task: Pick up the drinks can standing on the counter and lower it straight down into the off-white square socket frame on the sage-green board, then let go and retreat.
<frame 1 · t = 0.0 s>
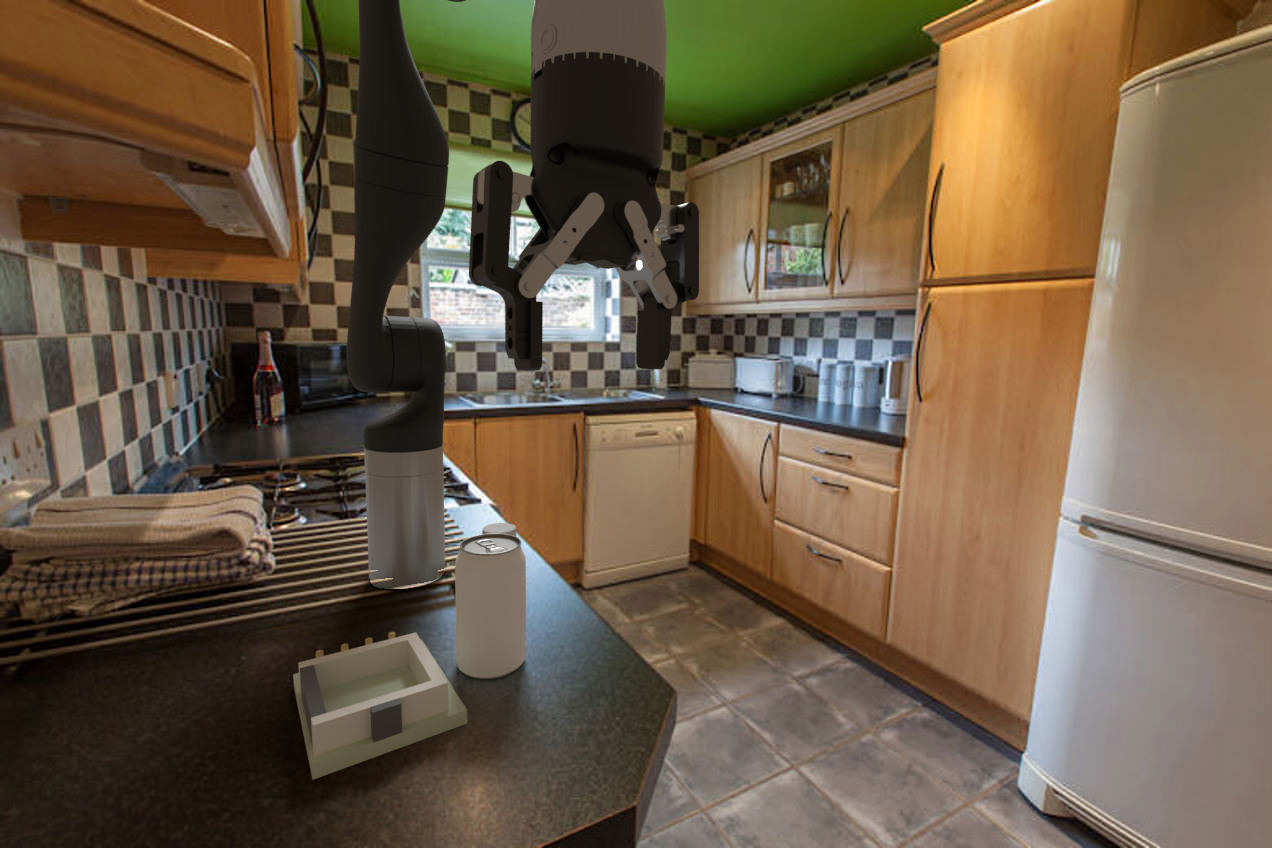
hand: (592, 369, 34), 29 cm above the worktop, tool pointing down, fingers open, 8 cm apart
can: (491, 664, 55), on the worktop
socket board: (376, 704, 48), on the worktop
supplement bottle: (499, 595, 70), on the worktop
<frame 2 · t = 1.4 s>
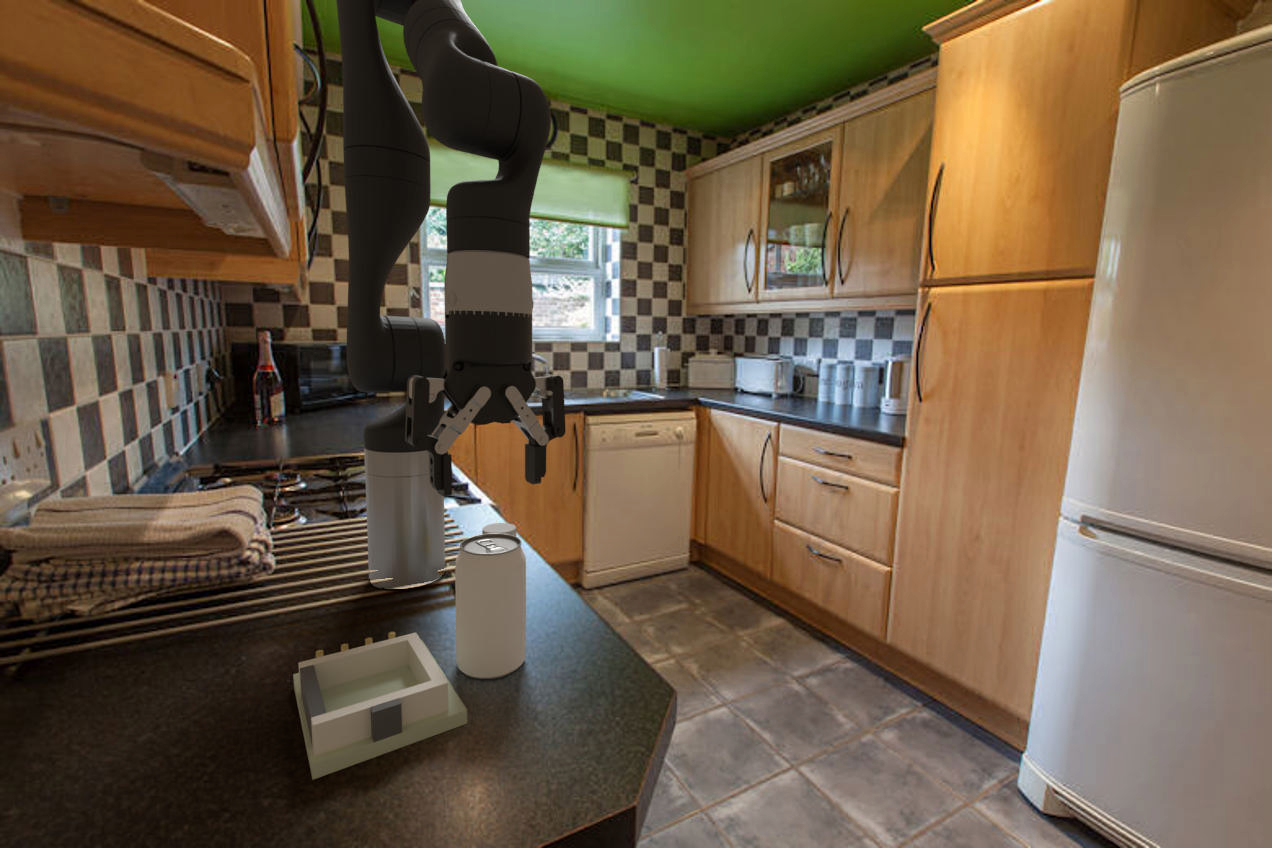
hand: (490, 488, 53), 17 cm above the worktop, tool pointing down, fingers open, 8 cm apart
nothing on the worktop moved.
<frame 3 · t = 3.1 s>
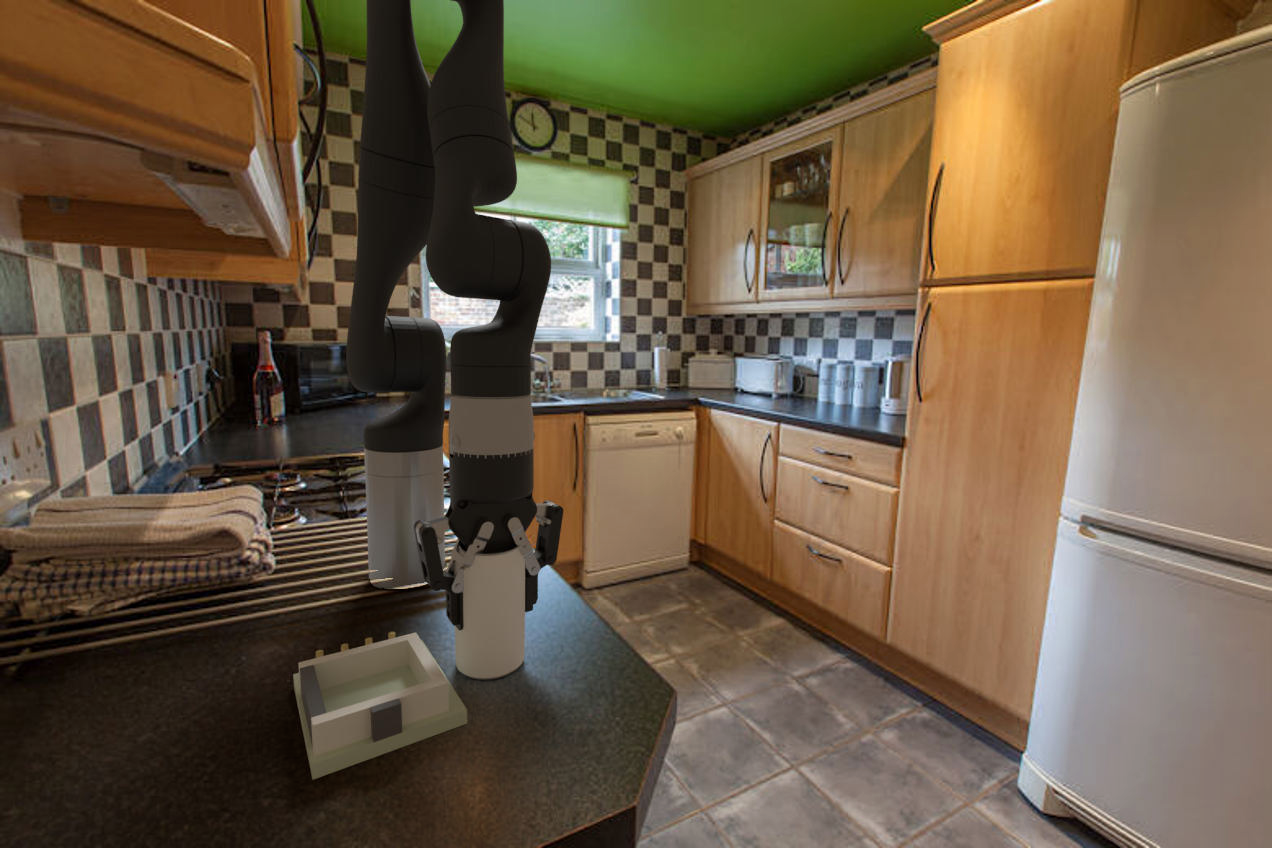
hand: (493, 616, 55), 5 cm above the worktop, tool pointing down, fingers closed on can, 6 cm apart
can: (490, 664, 55), on the worktop, touching gripper
everything else where it was.
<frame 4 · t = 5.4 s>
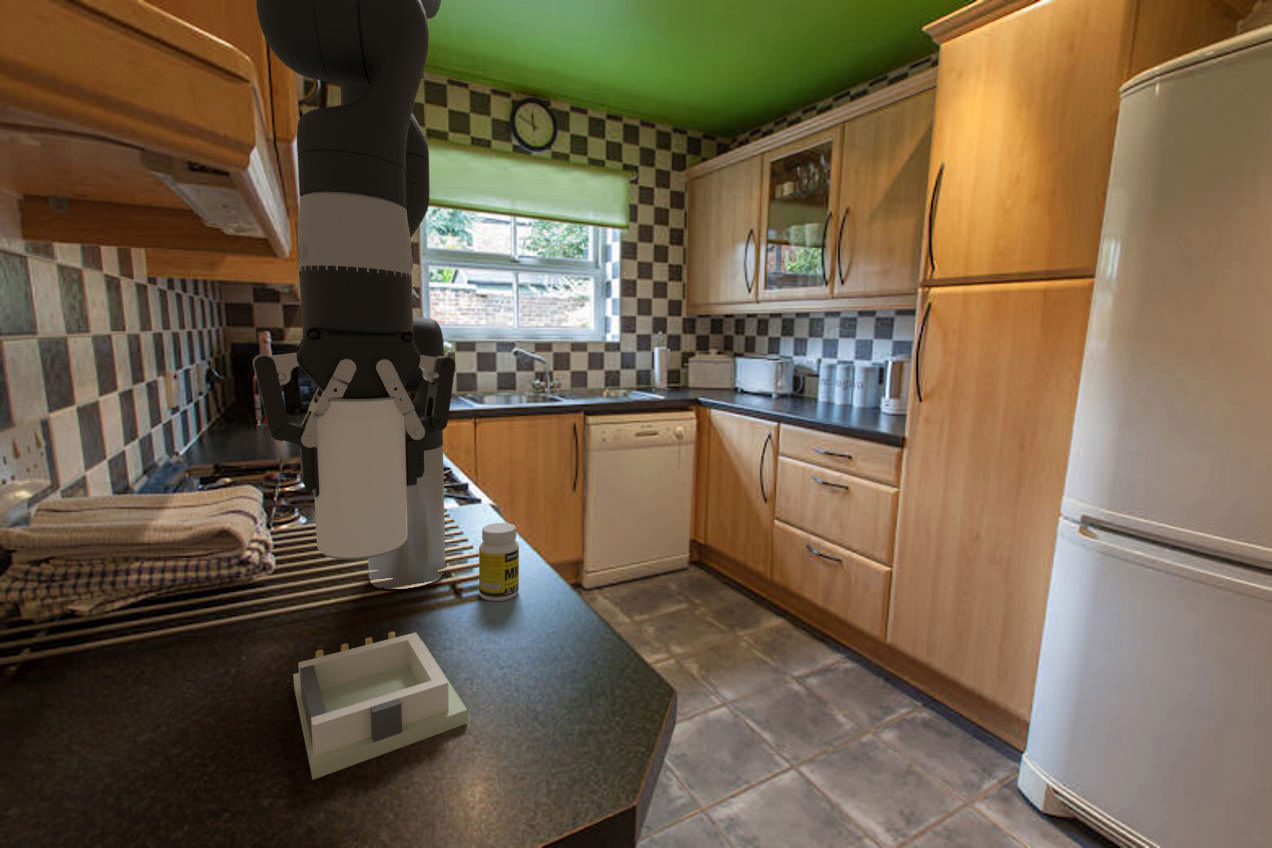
hand: (365, 488, 45), 19 cm above the worktop, tool pointing down, fingers closed on can, 6 cm apart
can: (363, 548, 45), point 14 cm above the worktop, touching gripper
everything else where it was.
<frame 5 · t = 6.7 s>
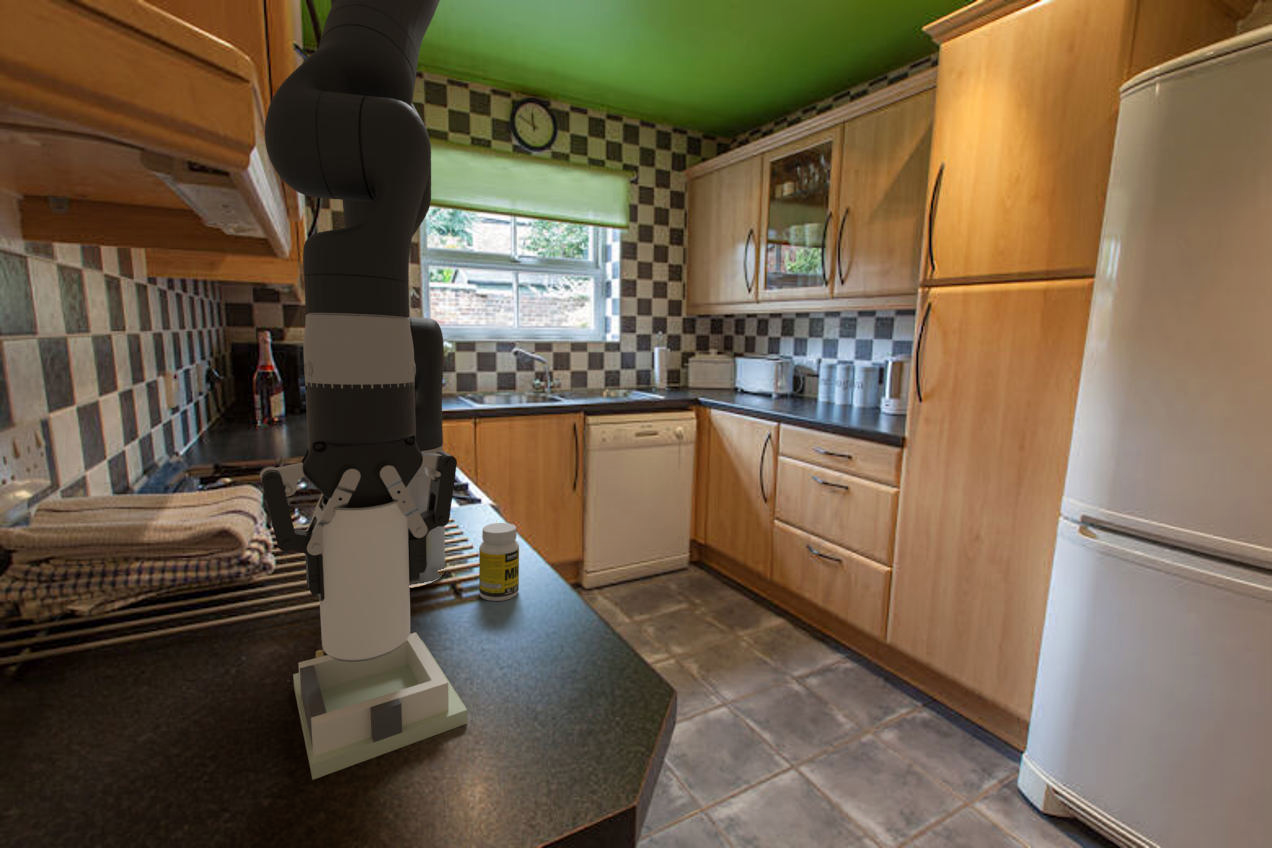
hand: (369, 586, 46), 11 cm above the worktop, tool pointing down, fingers closed on can, 6 cm apart
can: (367, 644, 46), point 6 cm above the worktop, touching gripper
everything else where it was.
when the fingers open (7 cm above the worktop, at t = 8.0 s): can drops 1 cm, resting on socket board.
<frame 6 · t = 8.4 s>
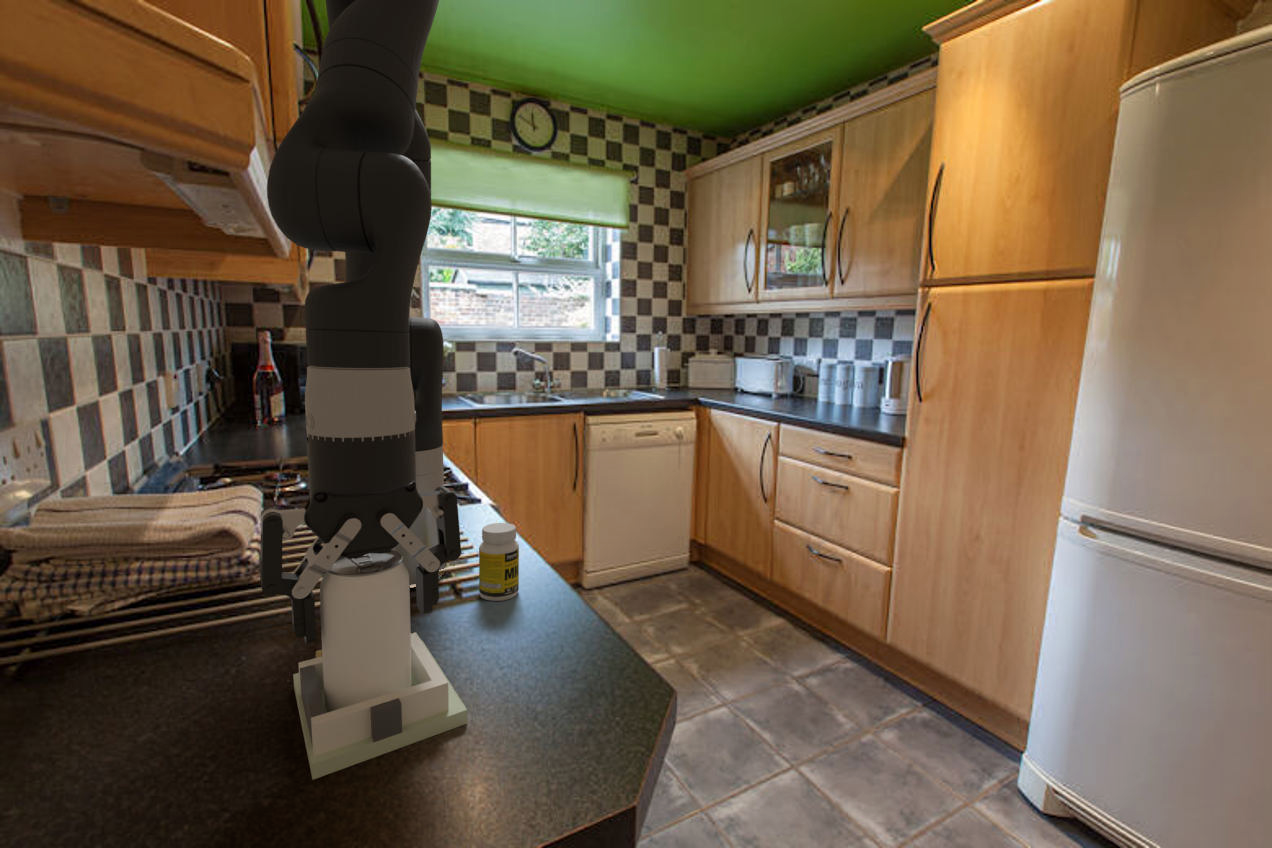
hand: (369, 624, 46), 8 cm above the worktop, tool pointing down, fingers open, 8 cm apart
can: (369, 700, 47), point 1 cm above the worktop, touching socket board
everything else where it was.
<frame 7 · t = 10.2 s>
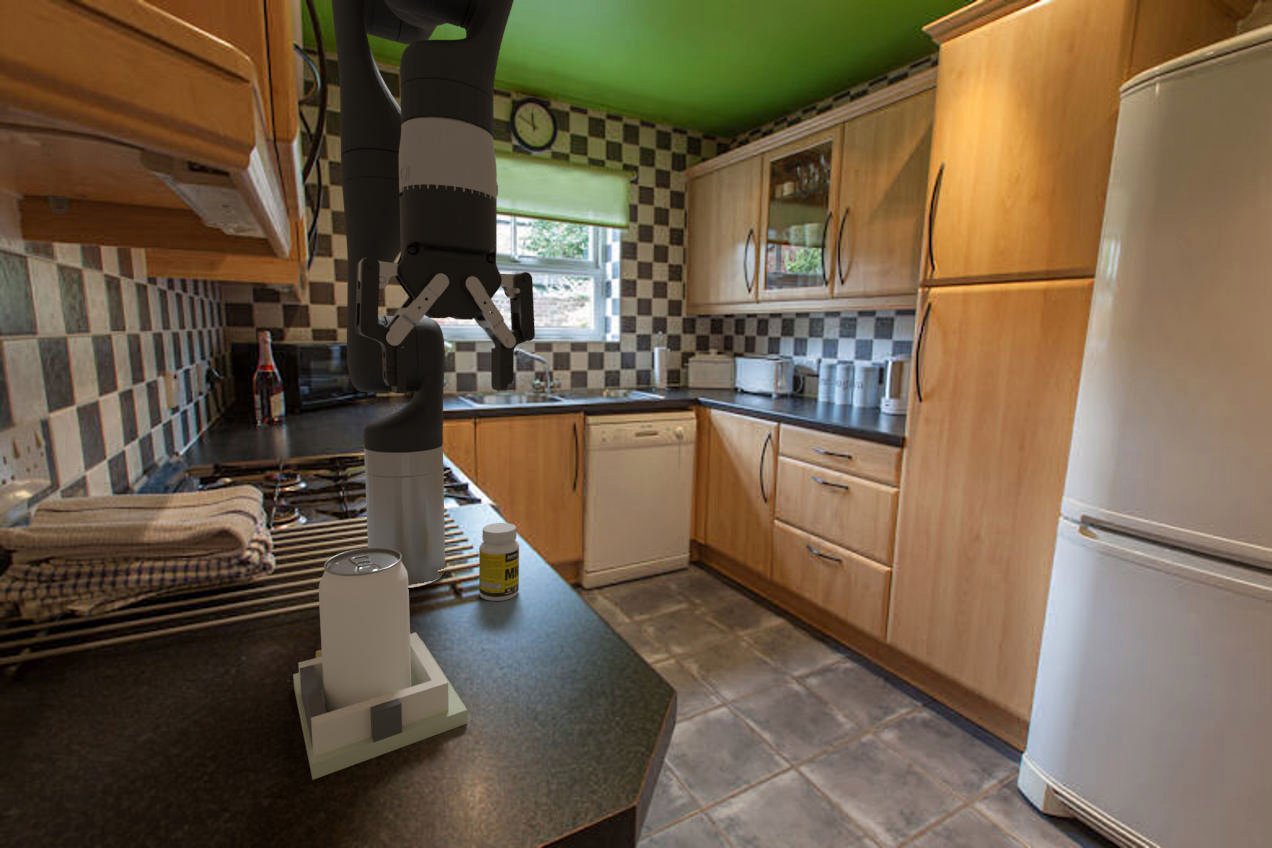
hand: (451, 391, 49), 26 cm above the worktop, tool pointing down, fingers open, 8 cm apart
nothing on the worktop moved.
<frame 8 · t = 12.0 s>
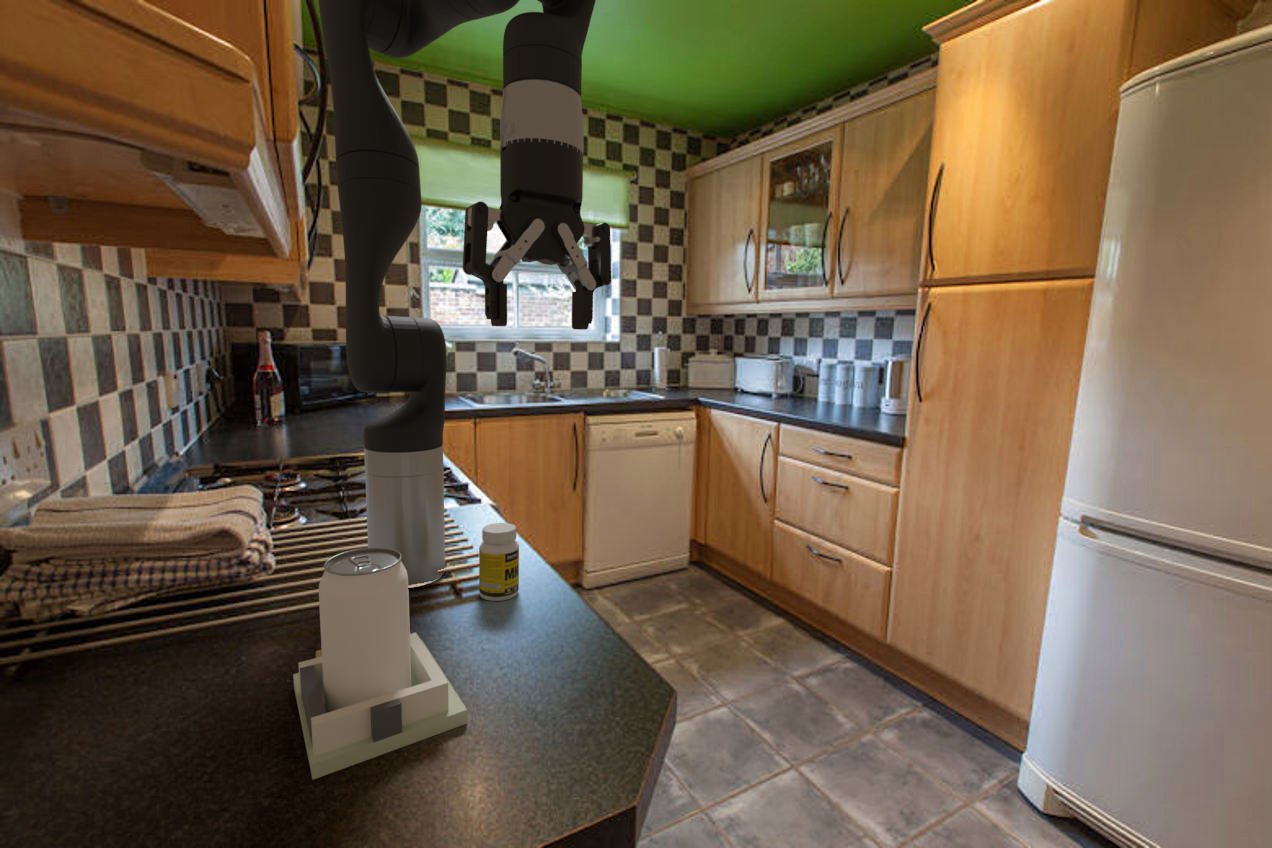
hand: (541, 327, 55), 32 cm above the worktop, tool pointing down, fingers open, 8 cm apart
nothing on the worktop moved.
at the end: can 0.3 cm from the target spot on the socket board, point 1.0 cm above the socket board's base; can tilted 0°; the gripper is holding nothing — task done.
